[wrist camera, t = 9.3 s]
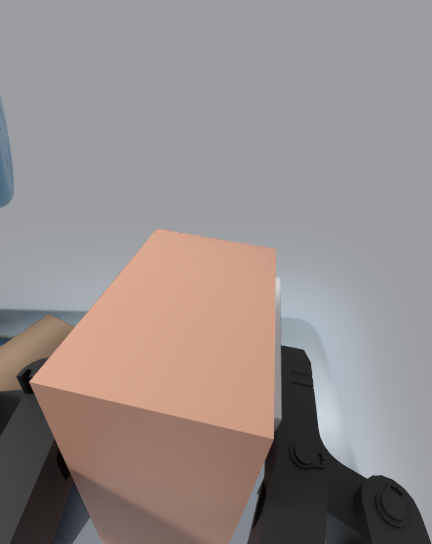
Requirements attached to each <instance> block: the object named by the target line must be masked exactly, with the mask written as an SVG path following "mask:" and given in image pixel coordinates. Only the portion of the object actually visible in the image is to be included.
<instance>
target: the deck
mask: <svg viewBox="0 0 432 544" xmlns="http://www.w3.org/2000/svg"><path fill="white" fill-rule="evenodd" d="M74 328H75V327H73V326H71V325H69V324H67V323H65V322H63V321H61V320H59V319H57V318H55V317H53V316H51V315H49V314H48V315H46V316H45V317H43V318H42V319H40V320H39V321H37V322H36V323H34V324H33V325H32V326H30V327H29V328H27V329H26V330H24V331H23V332H21V333H20V334H18V335H17V336H15V337H14V338H12V339H11V340H9V341H8V342H6V343H5V344H4V345H2V346H1V347H0V391H10V390H21V389H22V388H21V385H20V383H19V381H18V379H17V377H16V376H17V374H18V373H19V372H20V371H21V370H22V369H23V368H24V367H26V366H27V365H29V364H30V363H32V362H34V361H37V360H39V359H42V358H50V356H51V355H52V354H53V353H54V352H55V350H56V349H57V348H58V347H59V346H60V344H61V343H62V342H63V341H64V340H65V338H66V337H67V336H68V335H69V334H70V332H71V331H72V330H73V329H74Z"/></svg>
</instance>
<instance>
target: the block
mask: <svg viewBox="0 0 432 544" xmlns="http://www.w3.org/2000/svg"><path fill="white" fill-rule="evenodd" d="M275 292H276V249H273V248H267V247H261V246H255V245H249V244H244V243H237V242H232V241H226V240H220V239H214V238H208V237H202V236H196V235H191V234H184V233H179V232H173V231H167V230H161V229H156V231H155V232H154V233H153V234H152V235H151V237H150V238H149V239H148V240H147V241H146V243H145V244H144V245H143V246H142V247H141V249H140V250H139V251H138V252H137V253H136V255H135V256H134V257H133V258H132V259H131V261H130V262H129V263H128V264H127V266H126V267H125V268H124V269H123V270H122V271H121V273H120V274H119V275H118V276H117V277H116V279H115V280H114V281H113V282H112V284H111V285H110V286H109V287H108V288H107V289H106V291H105V292H104V293H103V294H102V295H101V297H100V298H99V299H98V300H97V301H96V303H95V304H94V305H93V306H92V307H91V309H90V310H89V311H88V312H87V313H86V314H85V316H84V317H83V318H82V319H81V320H80V322H79V323H78V324H77V325H76V326H75V328H74V329H73V330H72V331H71V332H70V334H69V335H68V336H67V337H66V338H65V340H64V341H63V342H62V343H61V344H60V346H59V347H58V348H57V349H56V350H55V352H54V353H53V354H52V355H51V356H50V358H49V359H48V360H47V361H46V362H45V364H44V365H43V366H42V367H41V368H40V370H39V371H38V372H37V373H36V374H35V376H34V377H33V378H32V379H31V380H30V382H29V383H30V385H31V387H32V389H33V392H34V394H35V396H36V398H37V400H38V403H39V405H40V407H41V409H42V411H43V414H44V416H45V418H46V420H47V423H48V425H49V427H50V429H51V431H52V434H53V436H54V438H55V440H56V442H57V445H58V447H59V449H60V451H61V453H62V456H63V458H64V460H65V462H66V465H67V467H68V469H69V471H70V473H71V476H72V478H73V480H74V482H75V484H76V487H77V489H78V491H79V493H80V496H81V498H82V500H83V502H84V504H85V507H86V509H87V511H88V513H89V515H90V518H91V520H92V522H93V524H94V527H95V529H96V531H97V533H98V535H99V538H100V540H101V542H102V544H230V542H231V540H232V537H233V535H234V532H235V530H236V528H237V525H238V523H239V521H240V518H241V516H242V513H243V511H244V509H245V506H246V504H247V502H248V499H249V497H250V494H251V492H252V490H253V487H254V485H255V483H256V480H257V478H258V475H259V473H260V471H261V468H262V466H263V464H264V461H265V459H266V457H267V454H268V452H269V449H270V447H271V445H272V442H273V440H274V380H275Z"/></svg>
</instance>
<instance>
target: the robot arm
mask: <svg viewBox="0 0 432 544" xmlns="http://www.w3.org/2000/svg"><path fill="white" fill-rule="evenodd" d="M13 194H14V176H13V165H12V157H11V150H10V143H9V136H8V130H7V125H6V120H5V115H4V110H3V105H2V101H1V97H0V208H1V207H4V206H6V205H7V204H8V203H10V201H11V200H12V197H13ZM48 359H49V358H42V359H39V360H37V361H34V362H32V363H30V364H29V365H27V366H26V367H24V368H23V369H22V370H21V371H20V372H19V373H18V374H17V376H16V377H17V379H18V381H19V383H20V385H21V388H22V389H21V390H10V391H0V544H53V542H54V539H55V536H56V533H57V530H58V527H59V524H60V521H61V518H62V515H63V512H64V509H65V506H66V503H67V500H68V497H69V494H70V491H71V488H72V485H73V482H74V480H73V478H72V476H71V473H70V471H69V469H68V467H67V465H66V462H65V460H64V458H63V456H62V453H61V451H60V449H59V447H58V445H57V442H56V440H55V438H54V436H53V434H52V431H51V429H50V427H49V425H48V423H47V420H46V418H45V416H44V414H43V411H42V409H41V407H40V405H39V403H38V400H37V398H36V396H35V394H34V392H33V389H32V387H31V385H30V383H29V382H30V380H31V379H32V378H33V377H34V376H35V374H36V373H37V372H38V371H39V370H40V368H41V367H42V366H43V365H44V364H45V362H46V361H47V360H48ZM257 494H258V499H257V503H256V508H255V512H254V516H253V521H252V525H251V529H250V534H249V538H248V542H247V544H325V543H326V544H431V542H430V539H429V536H428V533H427V530H426V528H425V525H424V522H423V519H422V517H421V514H420V512H419V510H418V508H417V506H416V504H415V502H414V500H413V499H412V498H411V496H410V495H409V494H408V493H407V491H406V490H405V489H404V488H403V487H402V486H400V485H399V484H398V483H396V482H395V481H394V480H392V479H390V478H387V477H384V476H382V475H381V476H380V475H379V476H371V477H370V478H368V479H367V478H365V477H363V476H361V475H360V474H358V473H356V472H355V471H353V470H351V469H350V468H348V467H346V466H344V465H343V464H342V463H340V462H339V461H337V460H336V459H335V458H334V457H333V456H332V455H331V454H330V453H329V452H328V450H327V449H326V447H325V446H324V444H323V442H322V440H321V438H320V434H319V429H318V420H317V412H316V403H315V395H314V389H313V378H312V369H311V362H310V360H309V358H308V357H307V355H306V353H305V351H304V350H302V349H297V348H292V347H287V346H282V345H281V317H280V278H279V277H276V292H275V380H274V440H273V442H272V445H271V447H270V449H269V452H268V454H267V457H266V459H265V465H264V478H263V480H262V483H261V485H260V487H259V489H258V492H257Z"/></svg>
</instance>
